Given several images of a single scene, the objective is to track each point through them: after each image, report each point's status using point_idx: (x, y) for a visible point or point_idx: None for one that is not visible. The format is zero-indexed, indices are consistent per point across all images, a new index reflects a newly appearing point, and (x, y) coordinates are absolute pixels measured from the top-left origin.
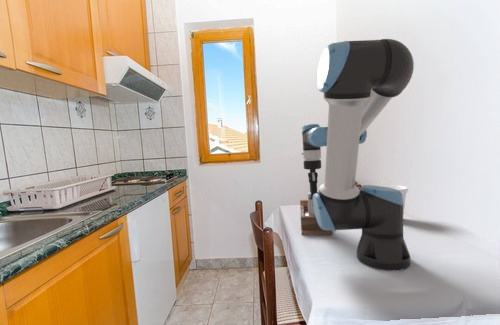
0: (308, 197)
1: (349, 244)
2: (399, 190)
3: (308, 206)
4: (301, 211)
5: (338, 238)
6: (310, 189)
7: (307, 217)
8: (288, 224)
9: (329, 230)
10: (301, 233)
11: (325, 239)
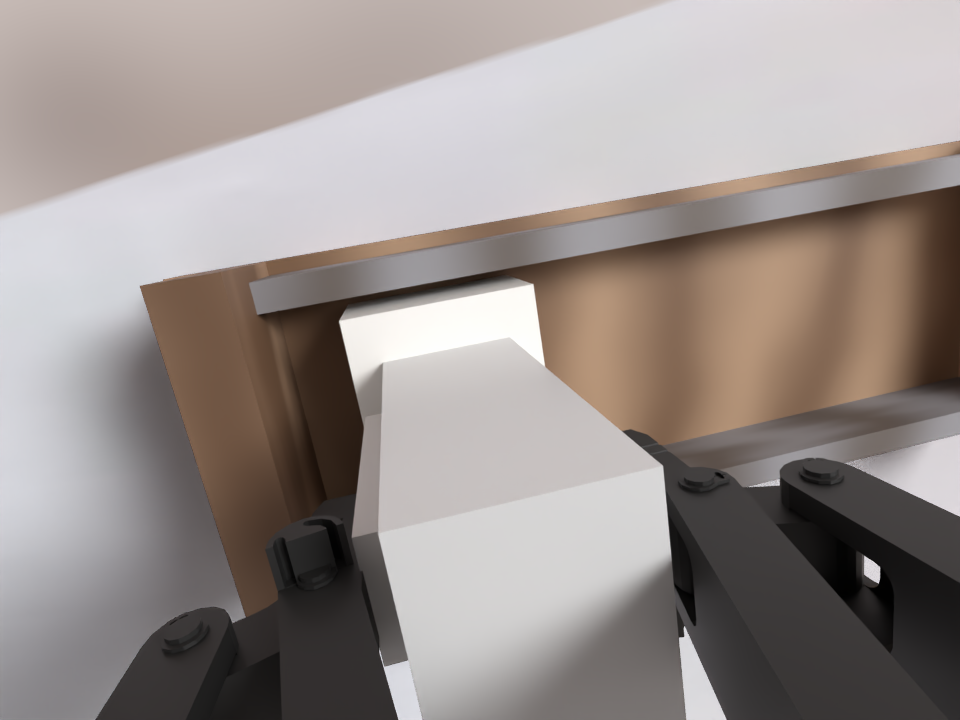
0: (383, 492)
1: (72, 711)
2: None
3: (382, 407)
4: (928, 157)
5: None
6: (727, 601)
7: (175, 386)
8: (501, 58)
9: None
10: (174, 277)
11: (123, 521)
